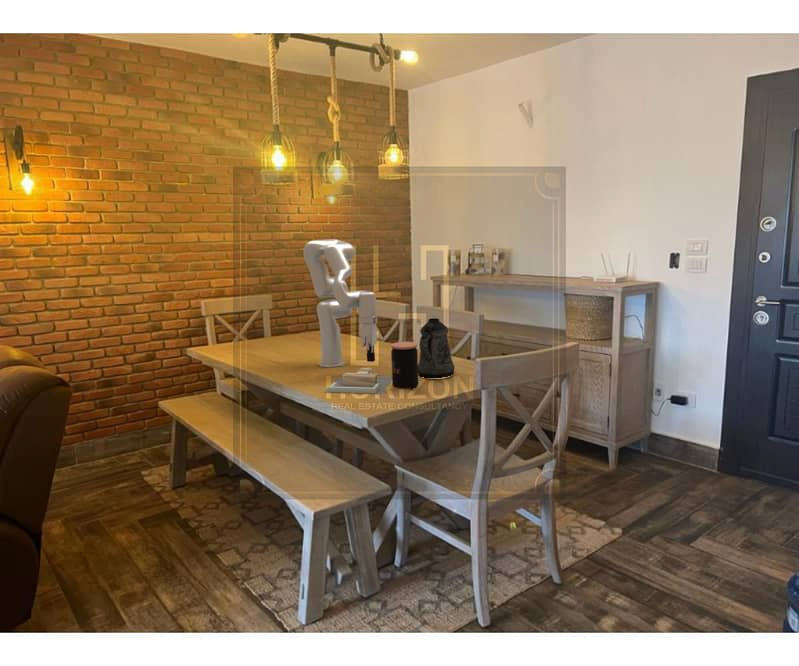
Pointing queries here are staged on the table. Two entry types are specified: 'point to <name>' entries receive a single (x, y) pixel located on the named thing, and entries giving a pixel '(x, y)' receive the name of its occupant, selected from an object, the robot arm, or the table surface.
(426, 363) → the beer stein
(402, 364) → the coffee jar
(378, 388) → the mat
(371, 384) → the t block
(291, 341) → the table surface
